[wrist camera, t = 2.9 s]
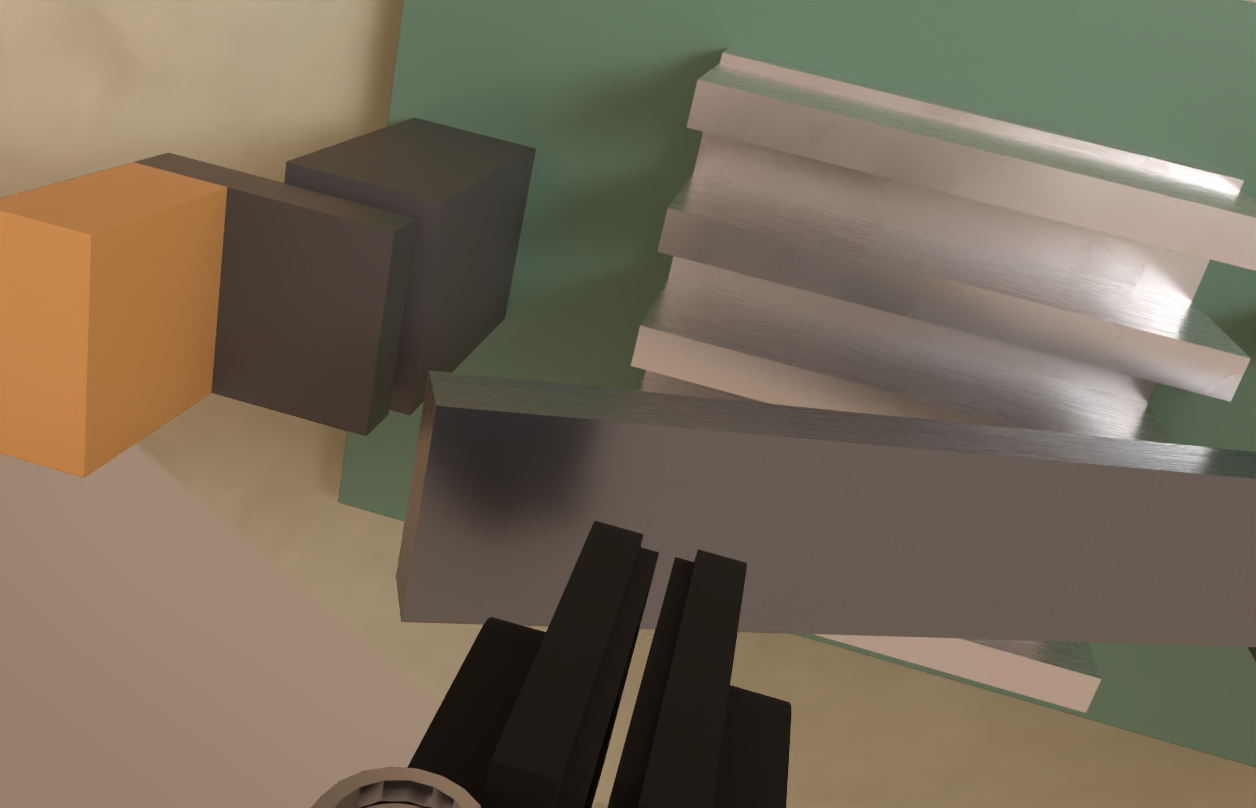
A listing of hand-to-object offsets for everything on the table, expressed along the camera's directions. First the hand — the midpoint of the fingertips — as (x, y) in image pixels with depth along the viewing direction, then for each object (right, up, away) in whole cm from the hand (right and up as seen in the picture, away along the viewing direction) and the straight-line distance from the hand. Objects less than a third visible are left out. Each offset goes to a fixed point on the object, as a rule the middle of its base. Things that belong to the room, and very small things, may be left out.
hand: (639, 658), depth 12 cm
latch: (-6, +5, +7) cm, 11 cm away
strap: (+5, +1, +5) cm, 7 cm away
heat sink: (+6, +4, +13) cm, 15 cm away
